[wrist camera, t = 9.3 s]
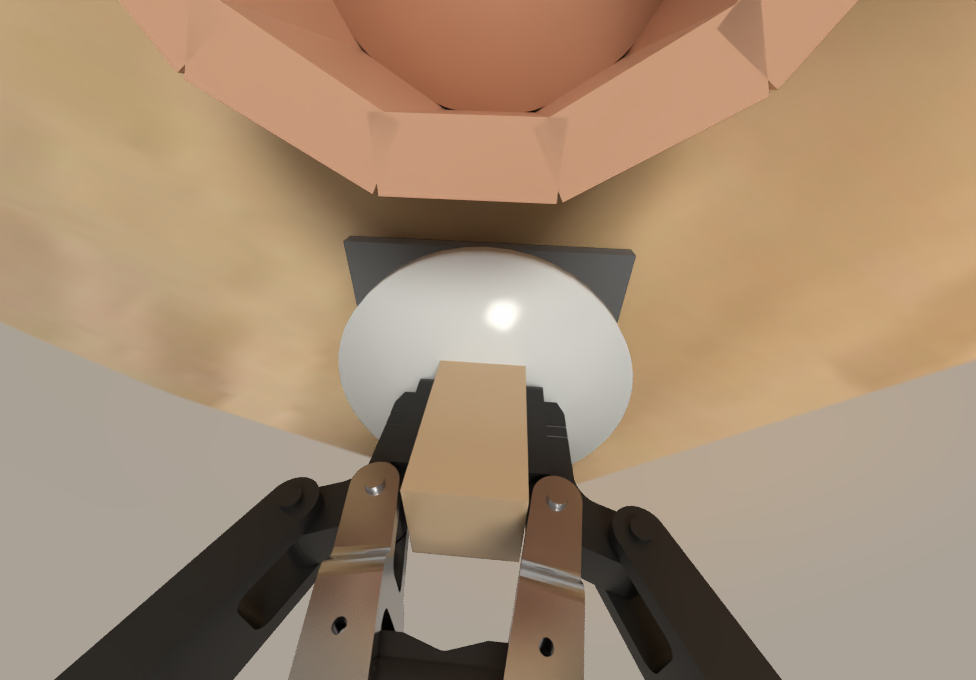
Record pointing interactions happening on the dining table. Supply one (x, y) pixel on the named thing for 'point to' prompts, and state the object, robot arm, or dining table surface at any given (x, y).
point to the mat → (590, 265)
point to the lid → (482, 384)
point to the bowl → (485, 81)
